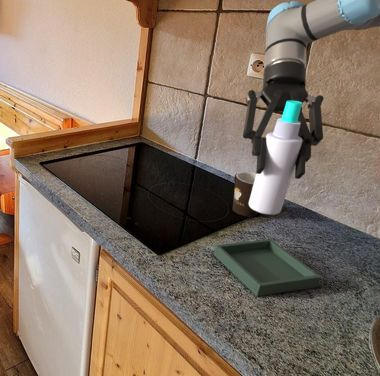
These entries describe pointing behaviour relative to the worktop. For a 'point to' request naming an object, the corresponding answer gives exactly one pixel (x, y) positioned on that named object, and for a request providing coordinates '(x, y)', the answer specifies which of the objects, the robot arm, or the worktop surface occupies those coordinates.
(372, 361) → the worktop surface
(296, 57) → the robot arm
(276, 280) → the tray
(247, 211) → the coffee mug
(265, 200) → the spray bottle
